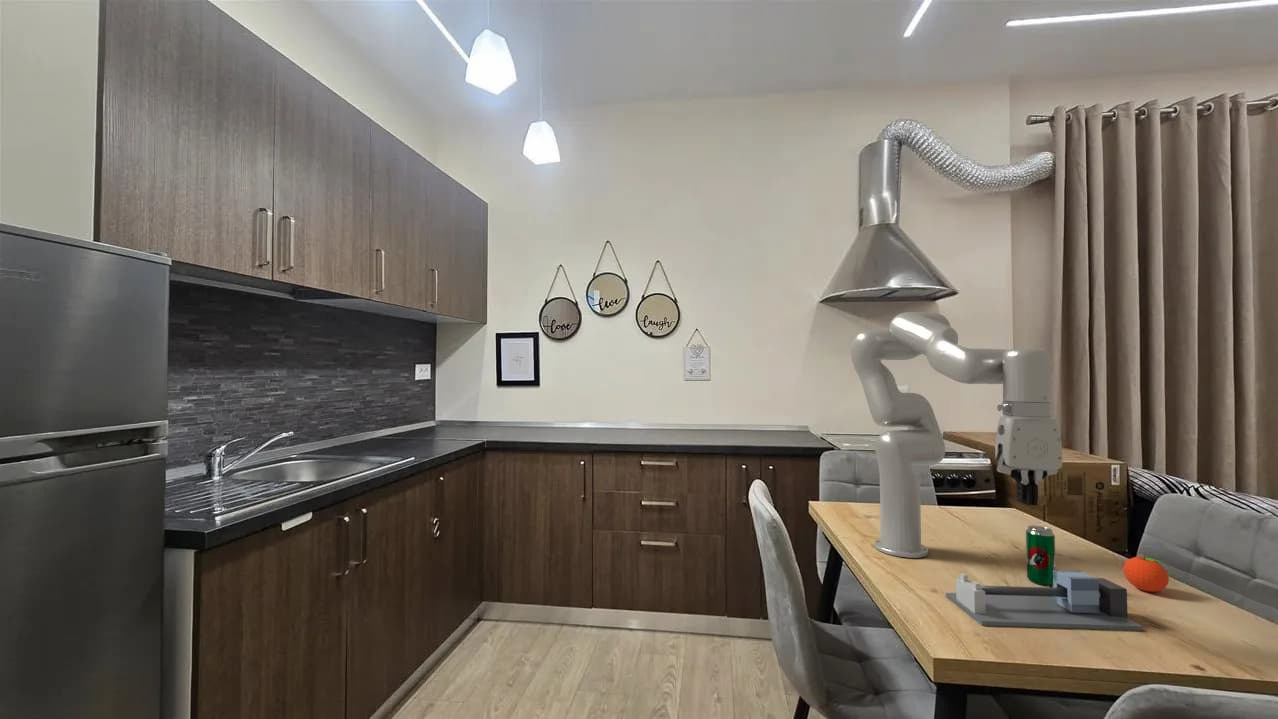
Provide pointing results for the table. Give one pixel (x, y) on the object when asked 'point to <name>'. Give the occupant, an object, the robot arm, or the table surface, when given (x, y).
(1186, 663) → the table surface
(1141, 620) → the table surface
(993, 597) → the linear slide rail
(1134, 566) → the clementine
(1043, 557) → the soda can
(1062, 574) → the sleeve
